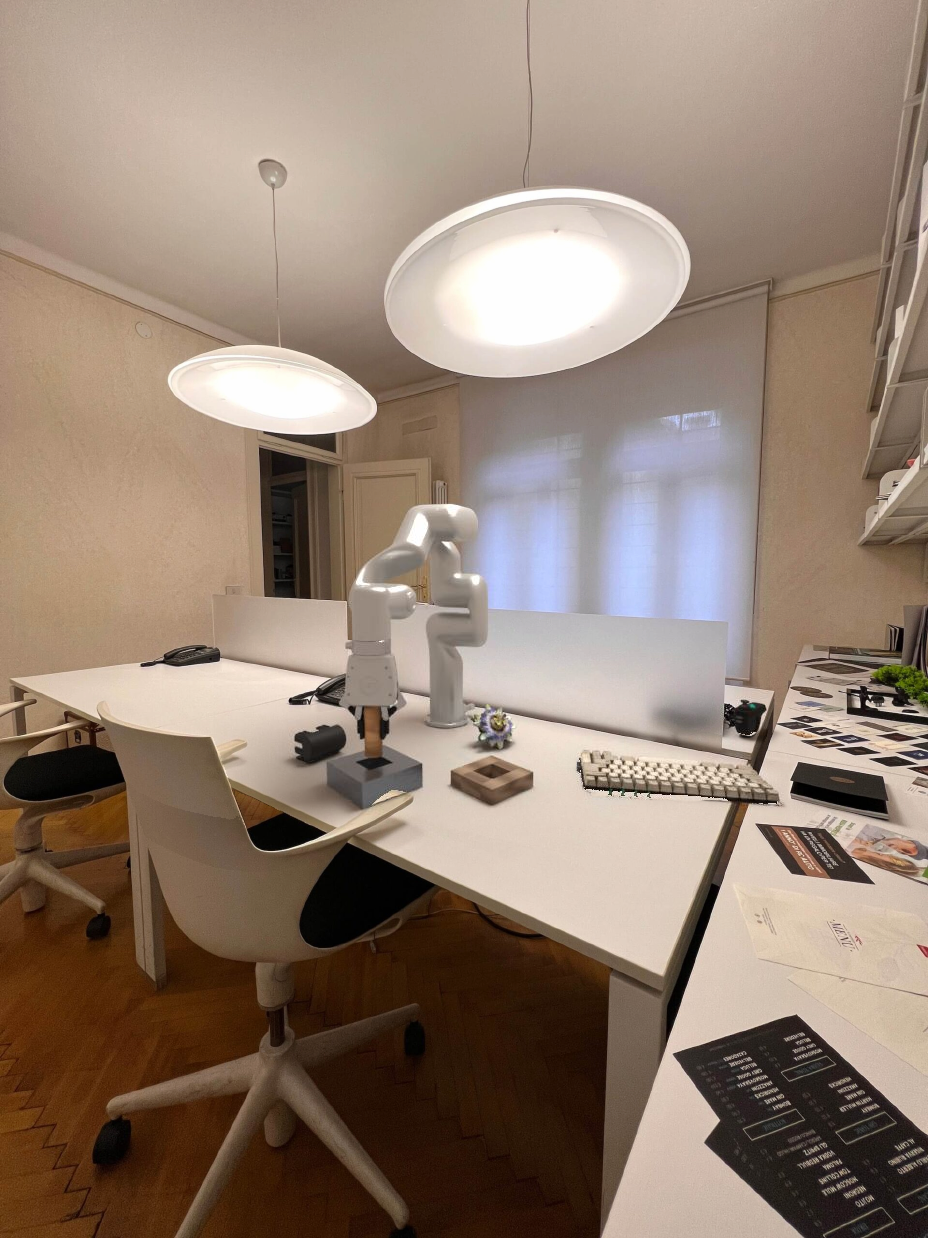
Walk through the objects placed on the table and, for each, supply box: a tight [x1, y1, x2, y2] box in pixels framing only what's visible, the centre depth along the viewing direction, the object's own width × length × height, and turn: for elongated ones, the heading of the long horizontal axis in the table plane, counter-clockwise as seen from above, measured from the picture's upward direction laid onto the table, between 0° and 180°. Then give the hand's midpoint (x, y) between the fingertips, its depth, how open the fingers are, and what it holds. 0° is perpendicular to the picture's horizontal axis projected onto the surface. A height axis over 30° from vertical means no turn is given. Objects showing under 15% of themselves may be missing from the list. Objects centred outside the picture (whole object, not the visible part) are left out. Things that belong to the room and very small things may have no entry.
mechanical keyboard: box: [576, 749, 781, 805], centre depth 105 cm, size 38×19×3 cm, turn 81°
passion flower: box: [470, 703, 517, 750], centre depth 127 cm, size 11×11×12 cm
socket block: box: [326, 744, 424, 810], centre depth 103 cm, size 14×14×5 cm
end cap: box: [293, 723, 347, 764], centre depth 118 cm, size 10×7×7 cm
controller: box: [733, 699, 767, 735], centre depth 133 cm, size 4×12×10 cm, turn 127°
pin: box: [363, 706, 384, 758], centre depth 101 cm, size 4×4×11 cm
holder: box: [450, 755, 534, 806], centre depth 103 cm, size 12×12×3 cm
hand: (373, 736), depth 102 cm, fingers closed on pin, 3 cm apart
